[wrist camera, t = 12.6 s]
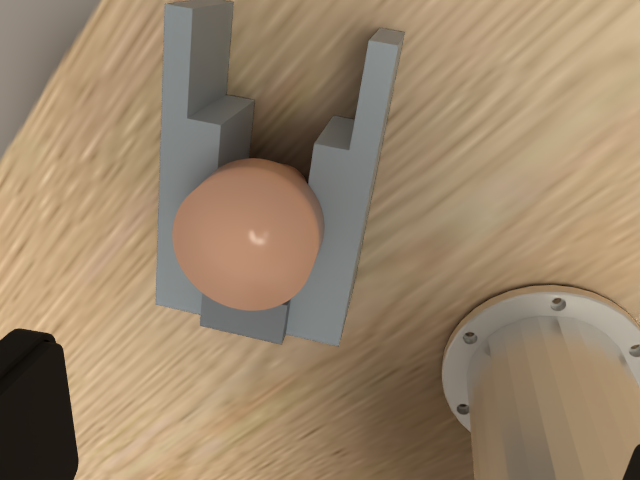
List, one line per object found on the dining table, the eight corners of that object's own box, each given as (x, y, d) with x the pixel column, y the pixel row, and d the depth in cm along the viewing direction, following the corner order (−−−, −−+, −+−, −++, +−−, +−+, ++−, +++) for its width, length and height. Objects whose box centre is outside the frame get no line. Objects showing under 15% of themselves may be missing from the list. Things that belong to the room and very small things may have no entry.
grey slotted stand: (352, 292, 38) (335, 357, 32) (194, 257, 39) (147, 313, 33) (404, 32, 31) (397, 48, 25) (210, -3, 32) (155, 4, 26)
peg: (339, 245, 36) (315, 315, 28) (230, 239, 37) (181, 305, 30) (338, 134, 33) (311, 180, 26) (220, 131, 34) (163, 174, 27)
